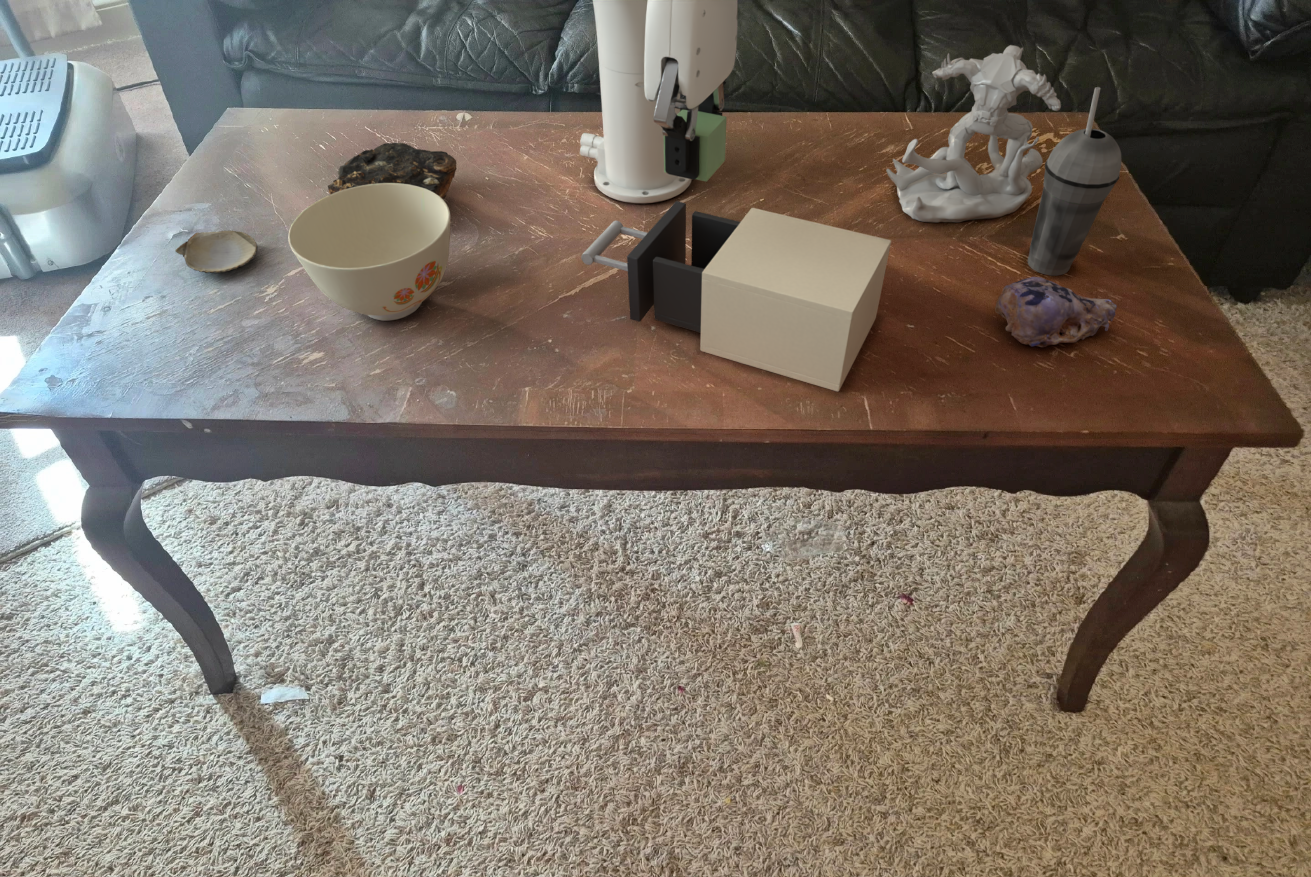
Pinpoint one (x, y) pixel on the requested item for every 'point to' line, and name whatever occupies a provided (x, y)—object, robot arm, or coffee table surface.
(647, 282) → the dark grey drawer
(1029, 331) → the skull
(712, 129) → the block
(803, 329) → the cream drawer box
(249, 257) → the seashell
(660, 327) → the coffee table surface
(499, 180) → the coffee table surface
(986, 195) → the figurine
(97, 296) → the coffee table surface
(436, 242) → the bowl
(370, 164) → the fossil rock
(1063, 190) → the beverage cup
